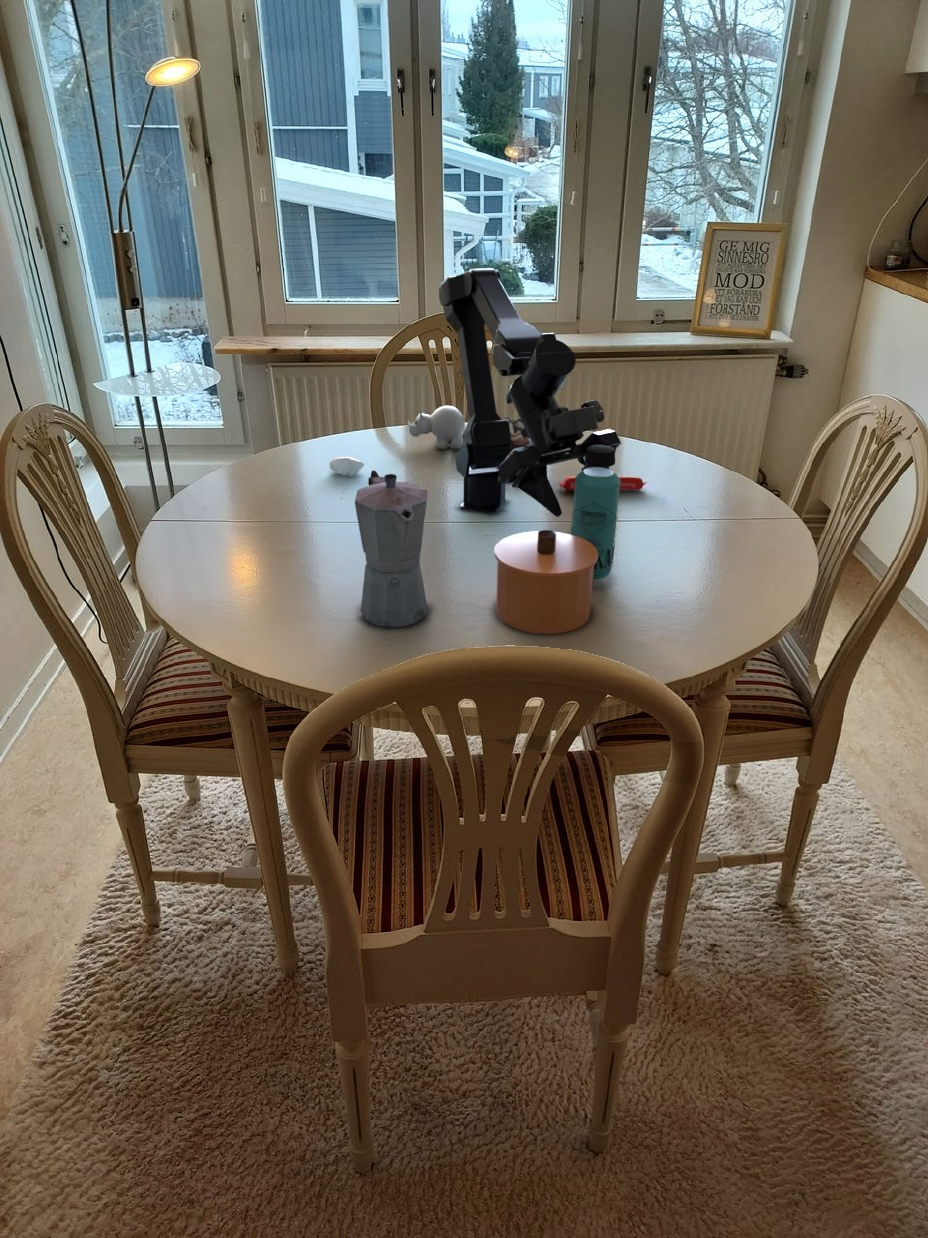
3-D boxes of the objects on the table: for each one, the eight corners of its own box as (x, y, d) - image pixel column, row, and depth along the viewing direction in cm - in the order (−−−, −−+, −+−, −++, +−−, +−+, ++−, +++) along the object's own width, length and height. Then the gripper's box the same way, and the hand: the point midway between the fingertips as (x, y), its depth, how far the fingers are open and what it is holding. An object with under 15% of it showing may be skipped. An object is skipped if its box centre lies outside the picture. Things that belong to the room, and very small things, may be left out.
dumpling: (330, 481, 164) (325, 460, 163) (333, 477, 169) (329, 457, 168) (366, 474, 164) (361, 453, 162) (368, 470, 169) (364, 450, 167)
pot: (483, 623, 114) (484, 565, 110) (513, 584, 125) (515, 530, 120) (575, 641, 110) (580, 581, 106) (598, 599, 121) (603, 543, 117)
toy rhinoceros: (409, 440, 186) (408, 401, 182) (464, 441, 186) (464, 401, 182) (406, 451, 179) (405, 410, 175) (464, 451, 179) (464, 410, 175)
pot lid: (479, 571, 110) (480, 545, 108) (512, 532, 121) (513, 508, 120) (583, 588, 106) (585, 561, 104) (607, 546, 117) (609, 522, 115)
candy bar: (642, 487, 161) (644, 472, 159) (647, 494, 158) (648, 478, 156) (557, 488, 160) (558, 472, 159) (559, 494, 157) (560, 479, 156)
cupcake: (474, 472, 168) (474, 421, 163) (498, 459, 175) (500, 410, 170) (517, 481, 163) (519, 429, 159) (540, 467, 171) (543, 417, 166)
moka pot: (381, 645, 109) (374, 496, 100) (339, 595, 121) (329, 458, 112) (448, 628, 113) (448, 483, 103) (401, 582, 125) (396, 448, 115)
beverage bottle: (562, 571, 129) (571, 440, 119) (606, 569, 129) (618, 439, 120) (571, 590, 123) (581, 455, 113) (616, 588, 124) (630, 454, 114)
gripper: (513, 390, 113) (562, 495, 110) (618, 373, 122) (666, 469, 119) (478, 434, 122) (522, 532, 119) (578, 415, 131) (621, 505, 129)
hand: (584, 508), depth 121 cm, fingers open, 9 cm apart
